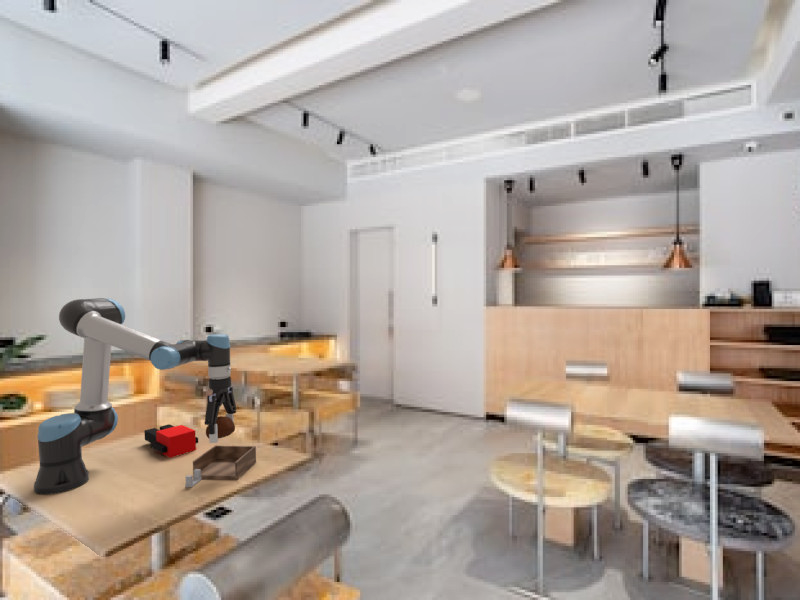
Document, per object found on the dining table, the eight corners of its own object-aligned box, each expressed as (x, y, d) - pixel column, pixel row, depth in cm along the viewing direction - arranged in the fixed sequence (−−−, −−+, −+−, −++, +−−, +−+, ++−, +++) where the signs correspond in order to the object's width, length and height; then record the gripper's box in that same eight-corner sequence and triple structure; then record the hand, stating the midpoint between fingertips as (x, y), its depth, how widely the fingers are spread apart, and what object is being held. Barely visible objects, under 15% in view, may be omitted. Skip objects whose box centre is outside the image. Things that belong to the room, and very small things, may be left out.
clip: (185, 487, 148) (184, 476, 148) (195, 479, 154) (194, 469, 154) (191, 487, 148) (191, 476, 148) (201, 479, 154) (201, 469, 154)
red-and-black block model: (173, 418, 199) (200, 429, 184) (174, 436, 200) (200, 448, 184) (138, 426, 188) (163, 439, 172) (139, 446, 188) (164, 459, 173)
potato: (241, 433, 163) (240, 412, 162) (217, 444, 152) (216, 421, 152) (226, 431, 166) (225, 410, 165) (201, 441, 155) (200, 419, 155)
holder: (193, 478, 155) (192, 461, 155) (215, 461, 170) (215, 445, 170) (237, 479, 153) (236, 462, 153) (256, 462, 168) (255, 446, 168)
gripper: (212, 384, 146) (215, 448, 147) (244, 370, 170) (246, 426, 170) (191, 384, 147) (194, 448, 148) (226, 370, 170) (228, 426, 171)
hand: (222, 436), depth 159 cm, fingers closed on potato, 11 cm apart
